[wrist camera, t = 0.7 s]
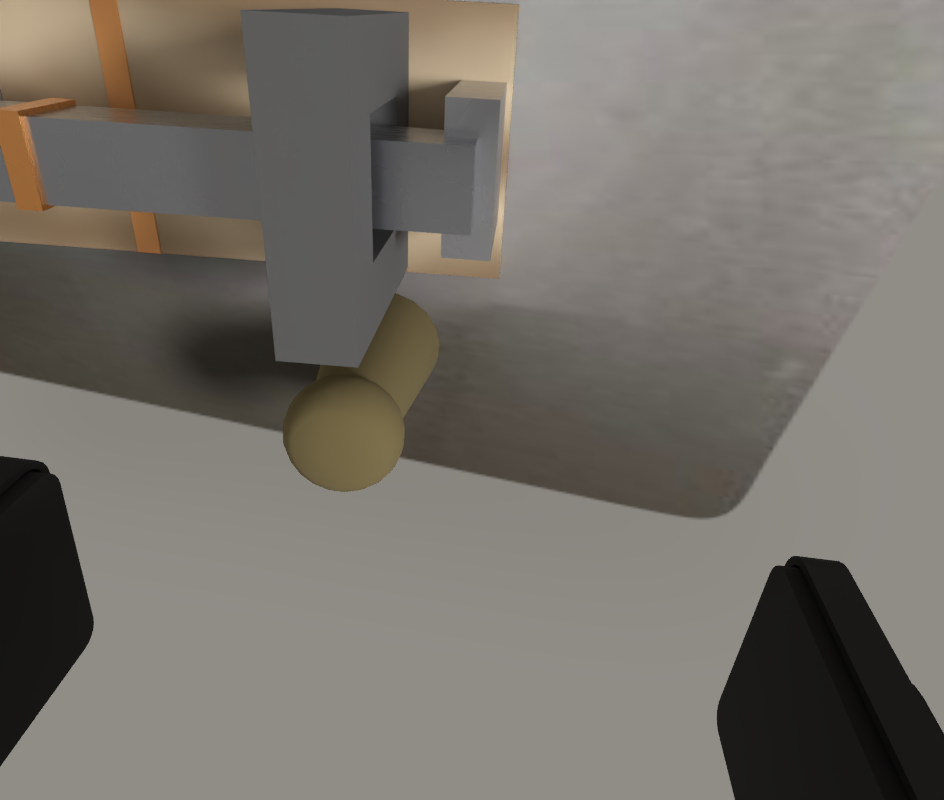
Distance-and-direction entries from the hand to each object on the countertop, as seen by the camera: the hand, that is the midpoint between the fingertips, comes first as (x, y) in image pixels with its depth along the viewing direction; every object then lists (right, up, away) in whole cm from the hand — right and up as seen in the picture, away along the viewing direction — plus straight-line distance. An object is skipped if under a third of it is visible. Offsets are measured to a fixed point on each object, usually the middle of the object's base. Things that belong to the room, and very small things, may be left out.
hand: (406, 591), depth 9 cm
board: (-10, +15, +24) cm, 30 cm away
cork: (-4, +6, +29) cm, 30 cm away
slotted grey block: (-3, +14, +22) cm, 27 cm away
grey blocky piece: (-10, +15, +24) cm, 30 cm away
